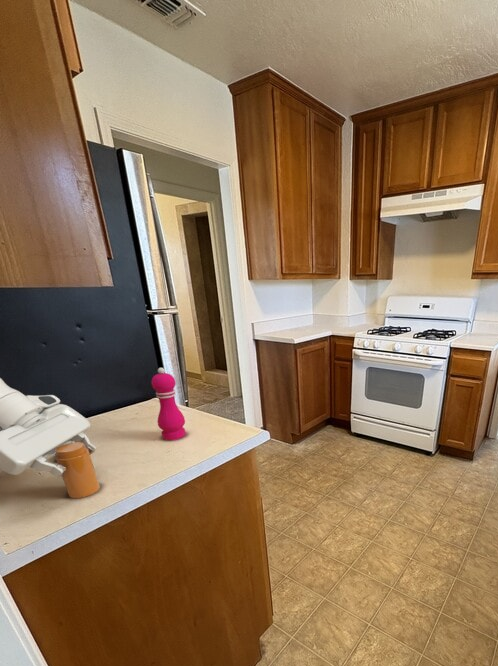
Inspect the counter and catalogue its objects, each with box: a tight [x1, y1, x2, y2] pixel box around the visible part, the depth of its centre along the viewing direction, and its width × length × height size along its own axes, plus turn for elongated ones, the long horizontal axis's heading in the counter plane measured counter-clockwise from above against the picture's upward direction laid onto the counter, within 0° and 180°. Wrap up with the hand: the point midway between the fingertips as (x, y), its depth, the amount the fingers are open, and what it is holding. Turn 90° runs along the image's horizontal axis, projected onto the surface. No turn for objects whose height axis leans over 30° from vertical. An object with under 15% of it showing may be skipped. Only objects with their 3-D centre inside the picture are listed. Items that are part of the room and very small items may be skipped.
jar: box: [55, 442, 100, 499], centre depth 73 cm, size 6×6×10 cm
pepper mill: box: [151, 367, 186, 441], centre depth 98 cm, size 7×7×20 cm
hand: (78, 462), depth 73 cm, fingers open, 8 cm apart
